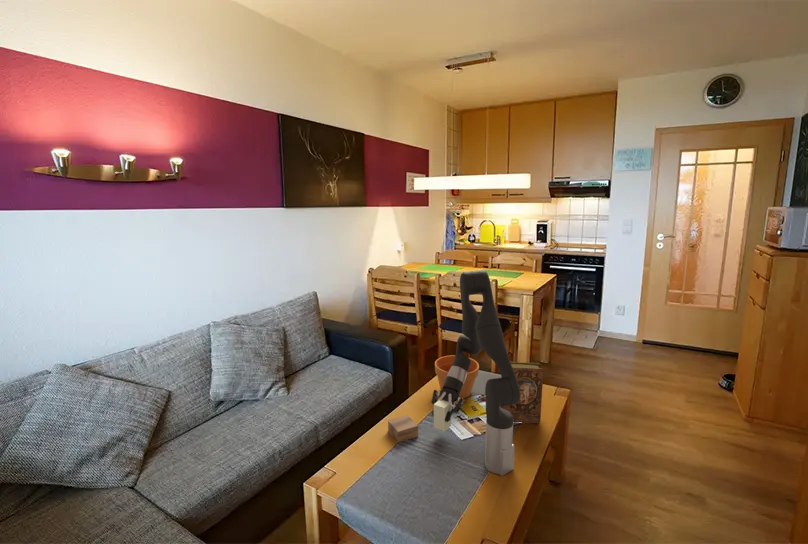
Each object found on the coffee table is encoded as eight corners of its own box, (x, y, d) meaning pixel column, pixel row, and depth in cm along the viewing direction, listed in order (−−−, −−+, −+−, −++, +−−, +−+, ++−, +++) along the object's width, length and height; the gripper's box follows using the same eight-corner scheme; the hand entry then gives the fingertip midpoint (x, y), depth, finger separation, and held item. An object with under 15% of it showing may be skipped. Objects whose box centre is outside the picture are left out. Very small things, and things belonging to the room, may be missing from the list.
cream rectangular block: (450, 425, 164) (451, 402, 162) (444, 431, 160) (444, 408, 158) (440, 421, 167) (440, 399, 165) (433, 427, 163) (433, 404, 161)
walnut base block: (418, 436, 164) (418, 425, 163) (398, 443, 160) (398, 431, 159) (407, 425, 172) (407, 414, 171) (388, 431, 168) (388, 420, 167)
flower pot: (484, 388, 203) (485, 360, 200) (467, 407, 185) (468, 377, 182) (446, 378, 214) (446, 352, 211) (426, 395, 196) (426, 366, 194)
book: (500, 422, 173) (502, 367, 168) (498, 415, 179) (500, 361, 174) (540, 424, 172) (543, 368, 167) (537, 417, 177) (540, 363, 172)
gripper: (437, 371, 170) (421, 410, 163) (467, 380, 162) (452, 421, 155) (443, 379, 176) (428, 416, 168) (473, 387, 167) (459, 428, 160)
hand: (440, 419), depth 162 cm, fingers closed on cream rectangular block, 5 cm apart
